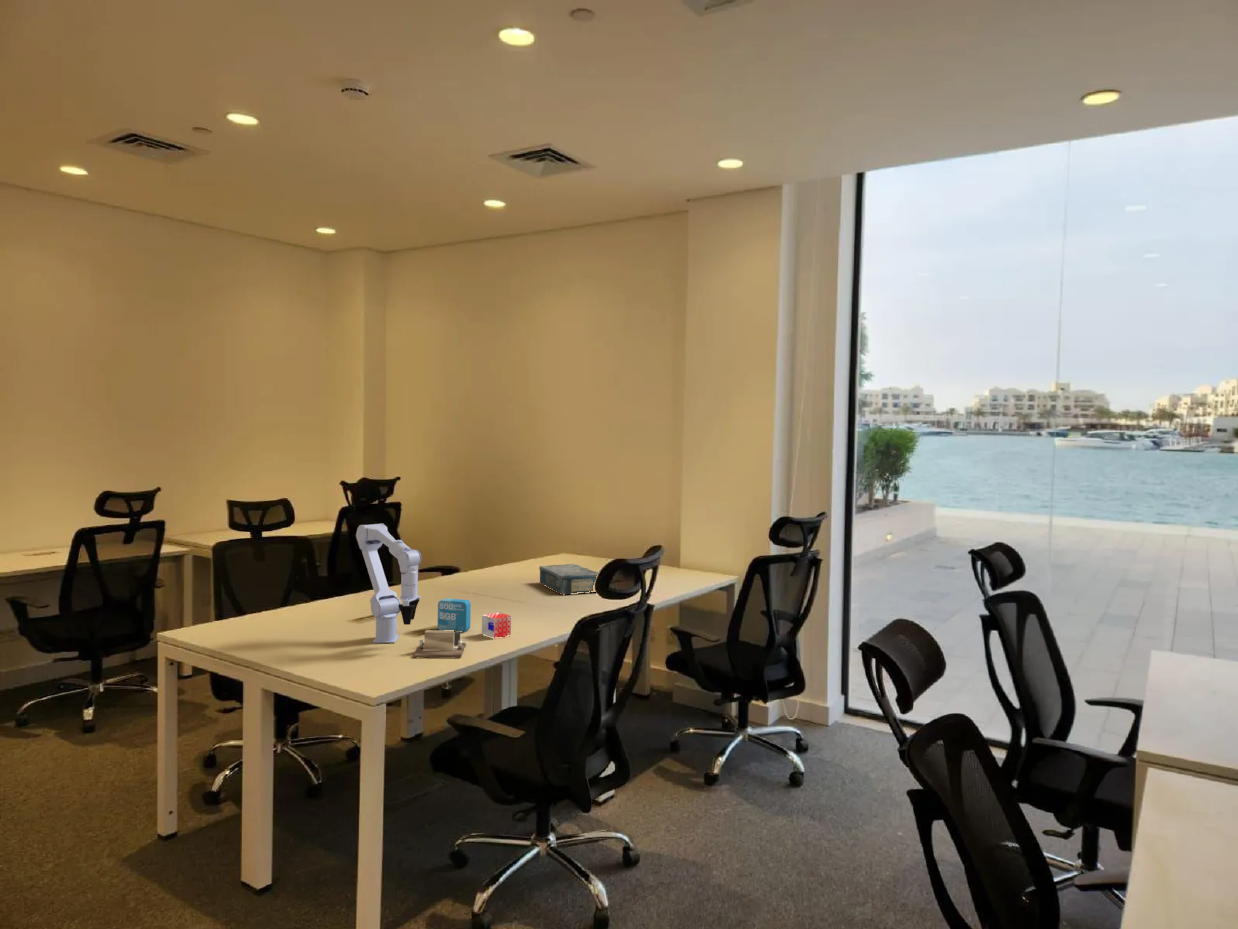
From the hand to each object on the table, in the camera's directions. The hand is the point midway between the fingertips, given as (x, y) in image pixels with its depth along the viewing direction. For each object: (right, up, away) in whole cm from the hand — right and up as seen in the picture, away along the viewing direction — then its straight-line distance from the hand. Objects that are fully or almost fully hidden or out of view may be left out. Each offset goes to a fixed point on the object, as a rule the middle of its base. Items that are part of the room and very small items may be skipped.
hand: (408, 621), depth 292 cm
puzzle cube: (+28, -10, +21) cm, 36 cm away
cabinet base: (+12, -10, -4) cm, 16 cm away
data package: (+11, -9, +27) cm, 31 cm away
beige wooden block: (+12, -9, -4) cm, 15 cm away
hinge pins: (+12, -10, -4) cm, 16 cm away
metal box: (+50, -7, +118) cm, 128 cm away
